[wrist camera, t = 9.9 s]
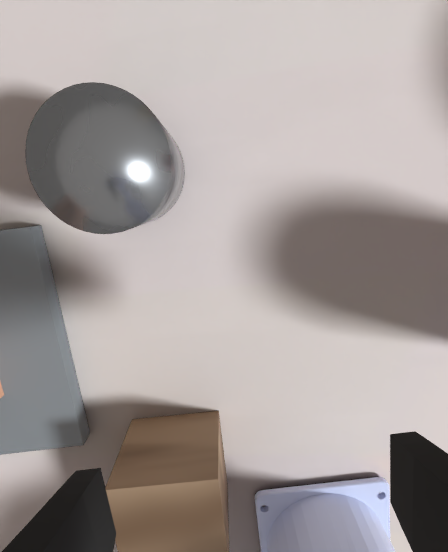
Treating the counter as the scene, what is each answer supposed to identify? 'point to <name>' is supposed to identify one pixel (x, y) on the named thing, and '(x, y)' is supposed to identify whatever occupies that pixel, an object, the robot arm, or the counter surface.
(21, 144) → the counter surface
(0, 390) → the terracotta block
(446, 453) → the robot arm
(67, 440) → the mat
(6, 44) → the counter surface
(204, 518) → the walnut block
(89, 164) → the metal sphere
